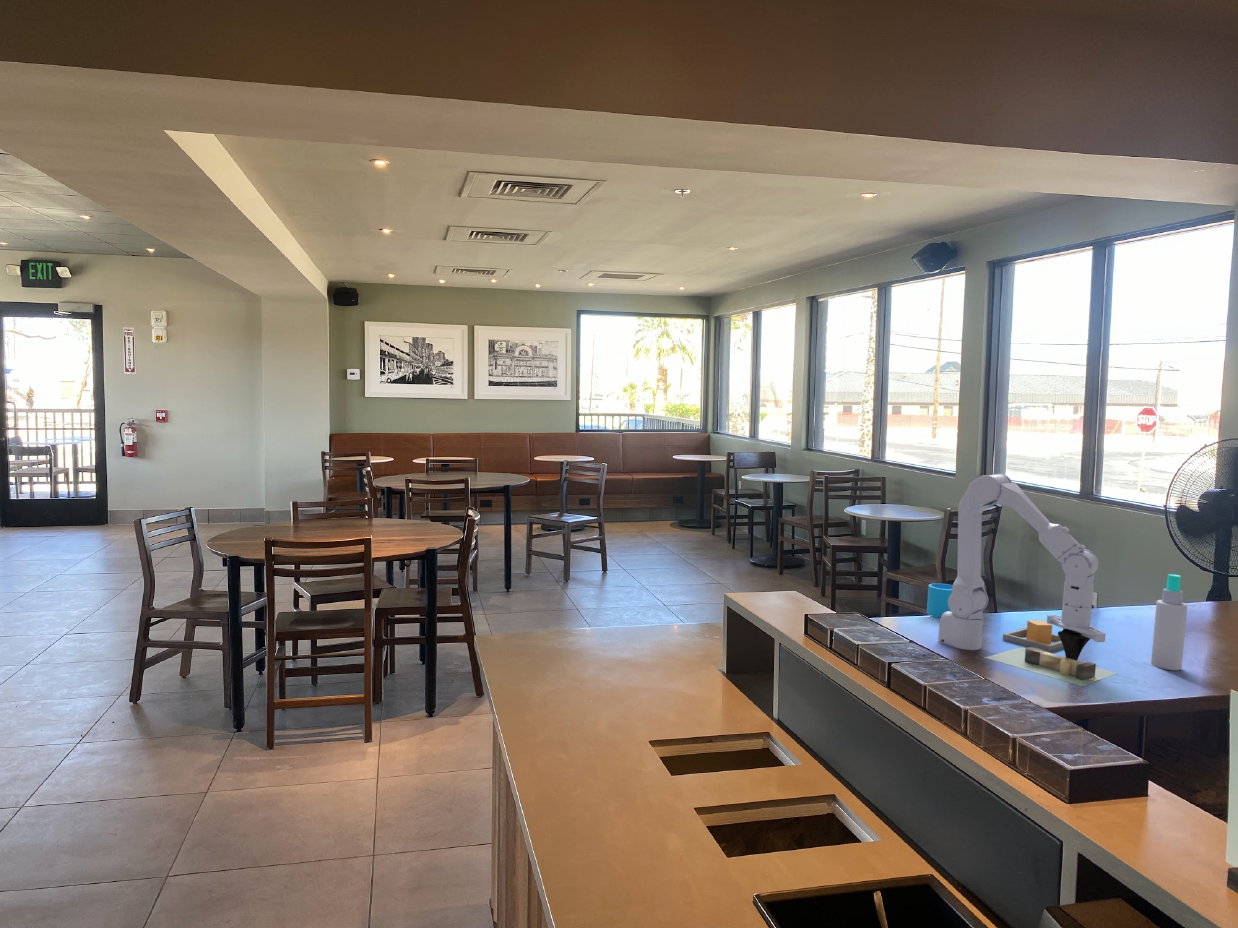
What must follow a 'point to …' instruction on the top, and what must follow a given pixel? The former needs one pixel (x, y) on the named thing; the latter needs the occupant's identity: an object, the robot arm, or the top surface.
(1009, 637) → the tray
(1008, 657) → the base plate
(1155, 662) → the spray bottle
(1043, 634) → the orange block
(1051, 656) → the lever
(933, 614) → the mug
